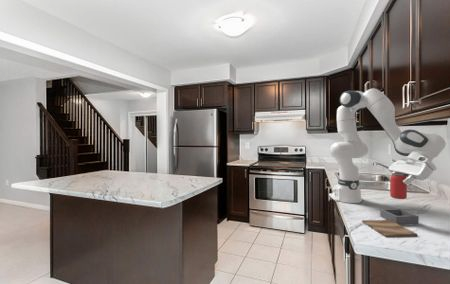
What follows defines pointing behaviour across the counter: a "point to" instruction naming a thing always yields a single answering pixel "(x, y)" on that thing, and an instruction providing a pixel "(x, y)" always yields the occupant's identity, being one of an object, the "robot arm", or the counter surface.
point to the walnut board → (389, 228)
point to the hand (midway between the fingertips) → (397, 181)
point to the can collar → (399, 216)
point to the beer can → (398, 186)
